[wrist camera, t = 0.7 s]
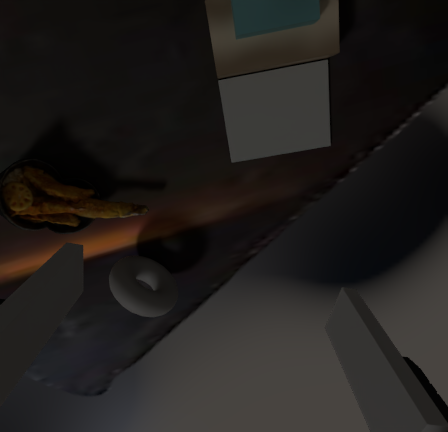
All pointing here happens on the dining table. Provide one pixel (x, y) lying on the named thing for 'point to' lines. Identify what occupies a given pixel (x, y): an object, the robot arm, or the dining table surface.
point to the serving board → (270, 41)
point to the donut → (139, 295)
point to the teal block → (272, 15)
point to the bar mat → (277, 111)
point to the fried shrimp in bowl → (54, 199)
